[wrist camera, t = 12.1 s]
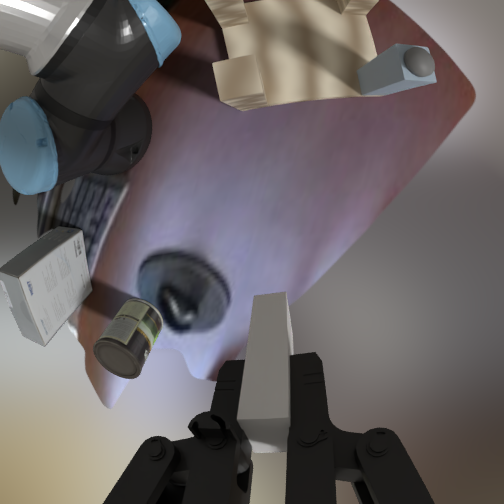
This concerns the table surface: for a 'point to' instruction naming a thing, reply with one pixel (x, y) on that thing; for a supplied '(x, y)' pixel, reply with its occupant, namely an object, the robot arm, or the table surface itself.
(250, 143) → the table surface
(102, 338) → the coffee can
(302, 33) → the upturned stool
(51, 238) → the hard drive box
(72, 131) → the robot arm
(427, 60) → the pale blue upright post
